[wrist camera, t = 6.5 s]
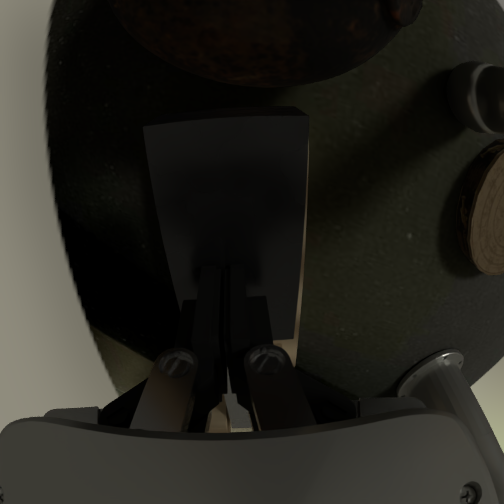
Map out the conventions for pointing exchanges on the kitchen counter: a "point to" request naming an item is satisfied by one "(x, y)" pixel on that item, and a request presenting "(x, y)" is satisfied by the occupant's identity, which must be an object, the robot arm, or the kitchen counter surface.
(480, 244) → the brown round flat disc
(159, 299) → the kitchen counter surface
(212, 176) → the lever
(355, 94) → the kitchen counter surface
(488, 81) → the plastic bottle
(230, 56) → the glass bottle
